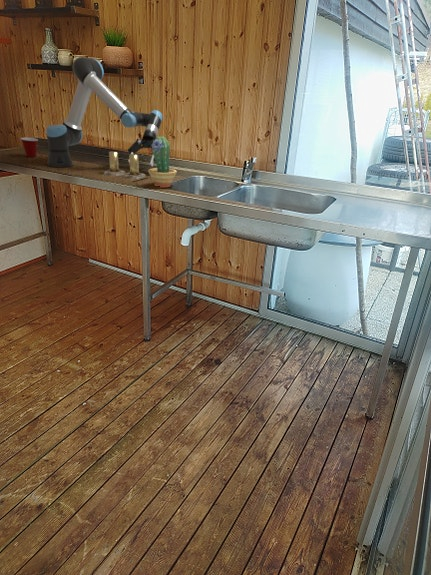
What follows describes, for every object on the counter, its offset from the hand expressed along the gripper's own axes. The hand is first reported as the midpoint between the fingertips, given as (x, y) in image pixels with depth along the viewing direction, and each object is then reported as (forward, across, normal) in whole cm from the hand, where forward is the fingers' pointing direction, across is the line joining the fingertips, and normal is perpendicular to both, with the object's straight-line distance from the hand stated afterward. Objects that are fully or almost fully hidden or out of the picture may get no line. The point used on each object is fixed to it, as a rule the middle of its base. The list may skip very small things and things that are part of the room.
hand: (140, 164), depth 231 cm
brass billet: (+10, 0, +1) cm, 10 cm away
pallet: (+10, +7, 0) cm, 12 cm away
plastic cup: (-11, +91, -21) cm, 94 cm away
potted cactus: (+16, -20, +6) cm, 26 cm away
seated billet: (+8, +14, 0) cm, 16 cm away
